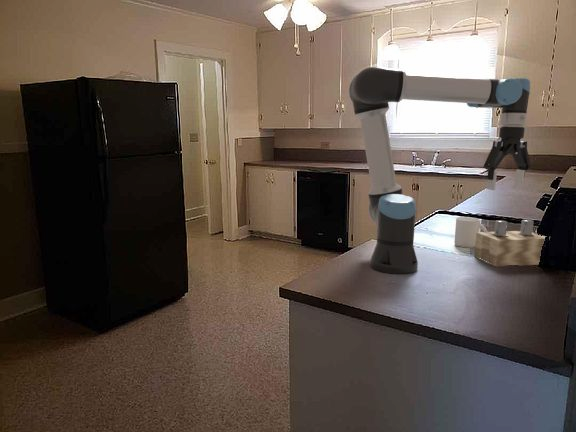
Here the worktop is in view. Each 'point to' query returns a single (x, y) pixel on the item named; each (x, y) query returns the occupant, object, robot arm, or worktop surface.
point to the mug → (467, 231)
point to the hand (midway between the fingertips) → (504, 189)
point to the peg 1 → (500, 228)
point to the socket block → (509, 248)
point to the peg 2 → (526, 228)
